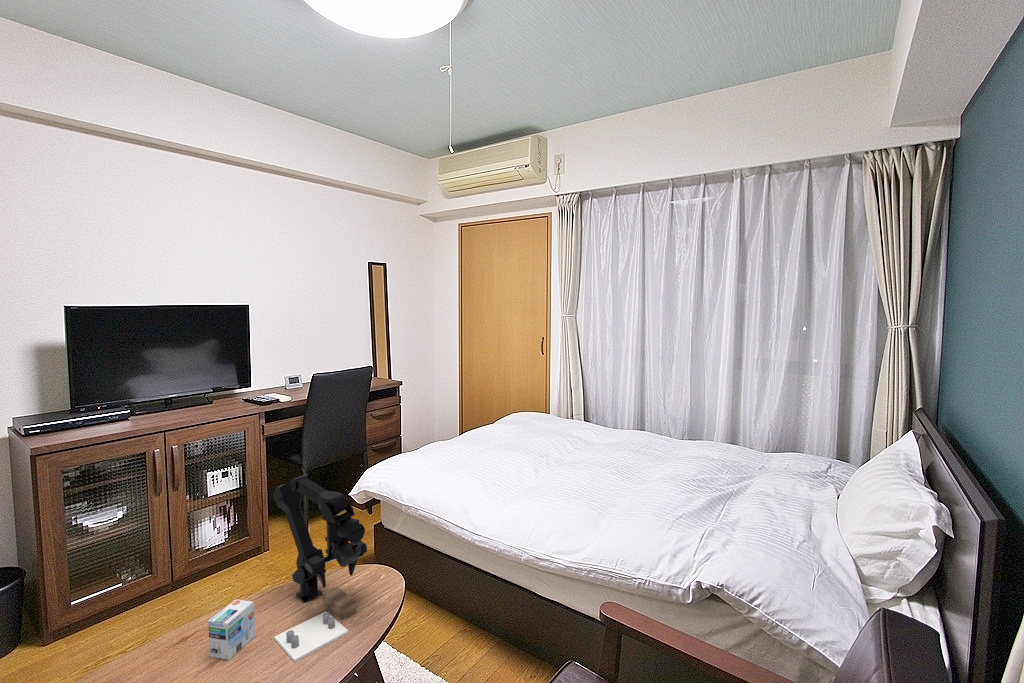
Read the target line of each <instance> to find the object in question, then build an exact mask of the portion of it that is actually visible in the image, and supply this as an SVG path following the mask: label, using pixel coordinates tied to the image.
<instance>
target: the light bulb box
mask: <svg viewBox="0 0 1024 683" xmlns="http://www.w3.org/2000/svg"><path fill="white" fill-rule="evenodd" d="M255 612H256V611H255V602H254V601H249V600H243V599H237V598H236V599H234V600H233V601H231V602H230V603H229V604H228V605H226V606H225V607H224V608H223V609H222V610H221V609H220V611H219V612H218V613H216V614H215V615H214V616H212V617H211V618H210V619H208V621H207V624H208V641H209V642H208V643H209V655H210V658H214V659H215V658H216V659H222V660H228V661H230V660H231V659H232V658H233V657H234V656H235V655H237V654H238V652H239V653H240V651H241V650H242V649H243V648H244V647H246V646H247V645H248V644H249V643H250V642H251V641H252V640H253V639H254V638H255V637H256V632H257V631H256V615H255V614H256V613H255Z"/></svg>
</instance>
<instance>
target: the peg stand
mask: <svg viewBox="0 0 1024 683" xmlns="http://www.w3.org/2000/svg"><path fill="white" fill-rule="evenodd" d="M347 634H349V630H348V629H347V628H346V627H344V625H342V624H341V623H340V622H339V621H338V620H336V618H335V617H334V616H332V615H331V612H328V611H323V612H322V613H320V614H317V615H316V616H314V617H312V618H309V619H308V620H305V621H303V622H301V623H299V624H297V625H296V626H293V627H291V628H289V629H287V630H284V631H283V632H281V633H279V634H277V635H275V636H274V637H273V640H274V641H275V642H276V643H277V644H278V645H279V647H280V648H281V649H282V650H283V651H284V652H285V653H286V654H287V655H288V657H289V658H290V659H291V660H292V661H293V663H296V662H298V661H300V660H302V659H303V658H306V657H307V656H309V655H311V654H313V653H314V652H316V651H318V650H320V649H322V648H324V647H326V646H327V645H329V644H332V643H333V642H335V641H336V640H339V639H340V638H342V637H344V636H346V635H347Z"/></svg>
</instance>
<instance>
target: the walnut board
mask: <svg viewBox="0 0 1024 683" xmlns="http://www.w3.org/2000/svg"><path fill="white" fill-rule="evenodd" d="M322 593H323V594H322V605H323V607H324V608H326V609H327V610H328V611H329V613H332V614H333V615H334V616H335V617H336V618H338V619H339V620H340V621H341V622H342V621H344V620H346V619H348V618H350V617H352V616H354V615H355V614H357V600H356V599H355V598H354V597H352V596H351V595H349V594H348V593H346V592H345V591H344V590H343V589H341V588H340V587H338V586H334V587H332V588H330V589H328V590H326V591H324V592H322Z"/></svg>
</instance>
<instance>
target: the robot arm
mask: <svg viewBox="0 0 1024 683" xmlns="http://www.w3.org/2000/svg"><path fill="white" fill-rule="evenodd" d="M308 477H309V476H307V475H301V476H297V477H294V478H292V479H291V480H290V481H288V482H287V483H283V484H281V485H279V486H276V487H274V488H275V489H274V491H273V492H272V497H273V500H274V502H275V504H276V506H277V507H278V508H279V509H280V510H281V511H282V512H284V514H285V516H286V519H287V523H288V525H289V528H290V532H291V534H292V538H293V540H294V543H295V547H296V550H297V558H296V562H295V563H296V568H297V569H296V570H295V571H294V572H293V574H292V575H291V577H292V581H293V583H296V584H298V585H299V592H296V594H295V596H296V597H297V598H299V600H301V601H302V602H303V603H306V602H309V601H311V600H313V599H315V598H318V597H319V596H323V593H324V592H322V591H321V590H320V589H319V582H320V584H321V586H322V588H324V589H325V588H326V586H327V582H326V573H327V569H326V564H328V563H331V562H333V561H335V560H336V561H337V563H338V564H339V566H340V567H341V568H345V567H347V566H348V573H349V576H352V577H353V574H354V572H355V568H356V565H357V563H358V561H359V560H360V558H362V557H363V556H364V554H366V553H367V552H368V545H367V543H366V542H364V541H362V539H363V538H364V535H365V534H366V533H365V531H366V528H365V526H364V524H362V523H360V520H359V519H357V518H353V517H354V516H355V514H356V512H355V511H354V508H353V505H351V503H350V501H349V499H348V497H347V495H345V494H344V493H341V492H338V491H330V490H327V489H325V488H324V487H322V486H321V485H319V484H317V483H315V482H314V481H313V480H311V479H309V478H308ZM303 497H305V498H307V499H308V500H310V501H312V502H313V503H315V504H316V505H317V506H318V508H319V509H318V510H319V511H320V513H322V514H323V516H322V517H321V520H323V521H326V522H325V523H326V524H325V525H326V537H324V539H325V542H326V546H327V547H326V549H325V554H326V556H324V553H323V550H322V549H321V548H317V547H315V546H314V543H313V541H312V538H311V535H310V531H309V529H308V525H307V522H306V519H305V516H304V514H303V510H302V507H301V503H302V498H303ZM341 513H342V514H341Z"/></svg>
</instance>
